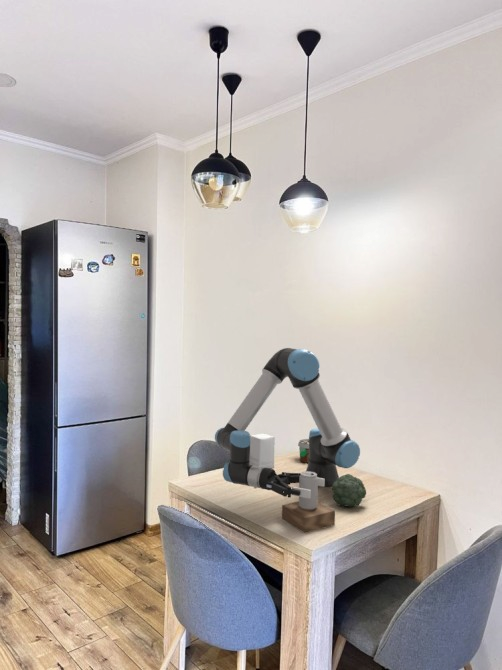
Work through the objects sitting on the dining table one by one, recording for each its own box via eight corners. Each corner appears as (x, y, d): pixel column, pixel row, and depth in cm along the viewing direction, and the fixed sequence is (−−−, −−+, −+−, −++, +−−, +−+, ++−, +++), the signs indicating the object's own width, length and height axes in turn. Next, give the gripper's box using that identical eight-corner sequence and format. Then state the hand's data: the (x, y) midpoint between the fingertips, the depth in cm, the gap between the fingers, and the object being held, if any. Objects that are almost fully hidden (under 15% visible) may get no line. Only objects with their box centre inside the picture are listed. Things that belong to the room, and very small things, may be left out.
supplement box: (274, 467, 229) (275, 436, 229) (259, 470, 224) (260, 438, 224) (263, 463, 237) (264, 432, 236) (248, 465, 232) (249, 435, 231)
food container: (296, 457, 248) (297, 438, 247) (308, 457, 247) (309, 438, 247) (298, 464, 235) (298, 444, 235) (311, 464, 235) (311, 444, 235)
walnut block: (310, 512, 176) (311, 498, 175) (334, 525, 165) (334, 510, 164) (281, 519, 169) (282, 505, 169) (304, 533, 158) (305, 518, 158)
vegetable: (368, 493, 191) (373, 488, 177) (347, 518, 187) (351, 514, 174) (344, 471, 195) (347, 465, 181) (323, 495, 192) (325, 490, 178)
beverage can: (316, 512, 163) (317, 477, 163) (297, 510, 164) (298, 475, 164) (317, 505, 169) (318, 471, 169) (299, 503, 170) (300, 470, 170)
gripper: (276, 478, 186) (329, 488, 176) (245, 498, 164) (303, 511, 154) (277, 459, 186) (329, 468, 176) (246, 476, 164) (304, 488, 154)
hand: (317, 488), depth 165 cm, fingers open, 13 cm apart
